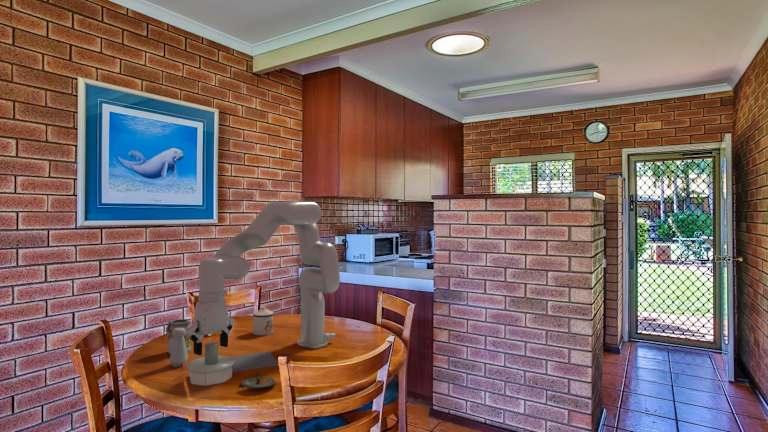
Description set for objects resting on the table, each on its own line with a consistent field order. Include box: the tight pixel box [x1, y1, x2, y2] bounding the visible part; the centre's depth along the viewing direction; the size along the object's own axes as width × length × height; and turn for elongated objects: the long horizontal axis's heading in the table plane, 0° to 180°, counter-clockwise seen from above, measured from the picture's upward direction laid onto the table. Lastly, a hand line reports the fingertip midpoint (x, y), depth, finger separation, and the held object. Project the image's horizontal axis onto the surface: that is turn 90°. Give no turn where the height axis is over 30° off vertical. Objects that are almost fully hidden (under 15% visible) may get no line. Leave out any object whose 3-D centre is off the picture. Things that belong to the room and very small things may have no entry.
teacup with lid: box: [252, 306, 275, 337], centre depth 196 cm, size 12×9×12 cm
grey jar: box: [165, 318, 192, 356], centre depth 167 cm, size 9×8×12 cm
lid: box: [240, 372, 277, 390], centre depth 135 cm, size 11×10×5 cm
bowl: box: [189, 367, 233, 387], centre depth 139 cm, size 12×12×5 cm
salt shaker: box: [169, 328, 189, 368], centre depth 153 cm, size 6×6×13 cm
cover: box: [186, 341, 234, 373], centre depth 140 cm, size 14×14×7 cm
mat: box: [231, 351, 279, 373], centre depth 156 cm, size 16×16×1 cm
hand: (211, 350), depth 139 cm, fingers open, 9 cm apart
